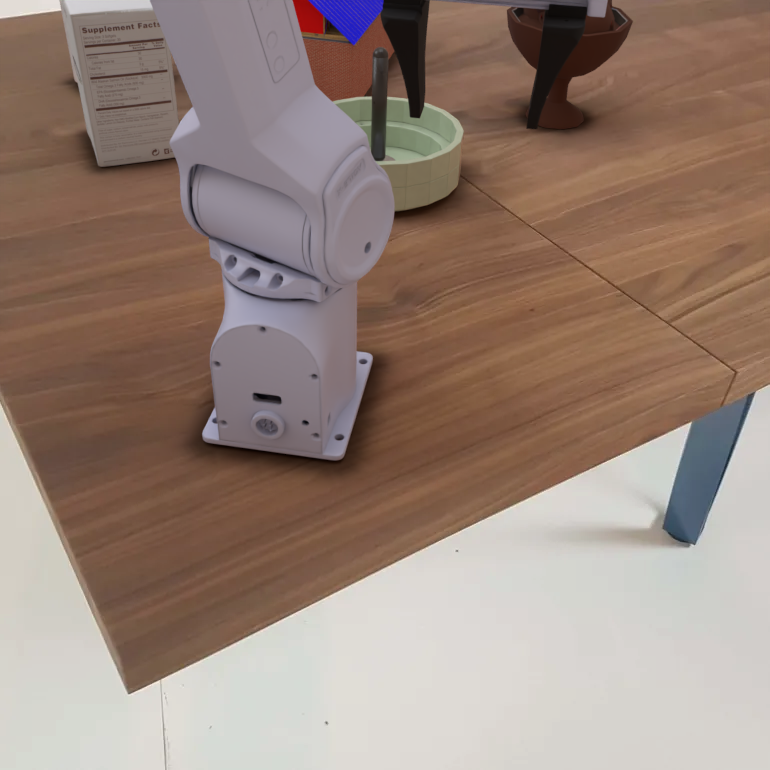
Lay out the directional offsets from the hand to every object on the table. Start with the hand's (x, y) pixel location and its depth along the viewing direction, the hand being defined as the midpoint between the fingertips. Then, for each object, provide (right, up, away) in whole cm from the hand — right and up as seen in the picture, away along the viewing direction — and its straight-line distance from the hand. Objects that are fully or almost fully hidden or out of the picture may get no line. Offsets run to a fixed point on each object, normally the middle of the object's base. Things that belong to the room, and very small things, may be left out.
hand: (474, 117), depth 61 cm
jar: (-32, +13, +31) cm, 46 cm away
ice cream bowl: (+10, +8, +27) cm, 30 cm away
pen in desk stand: (-7, -1, +14) cm, 16 cm away
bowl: (-6, -1, +16) cm, 17 cm away
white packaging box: (-28, +3, +19) cm, 34 cm away
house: (-12, +14, +34) cm, 39 cm away
